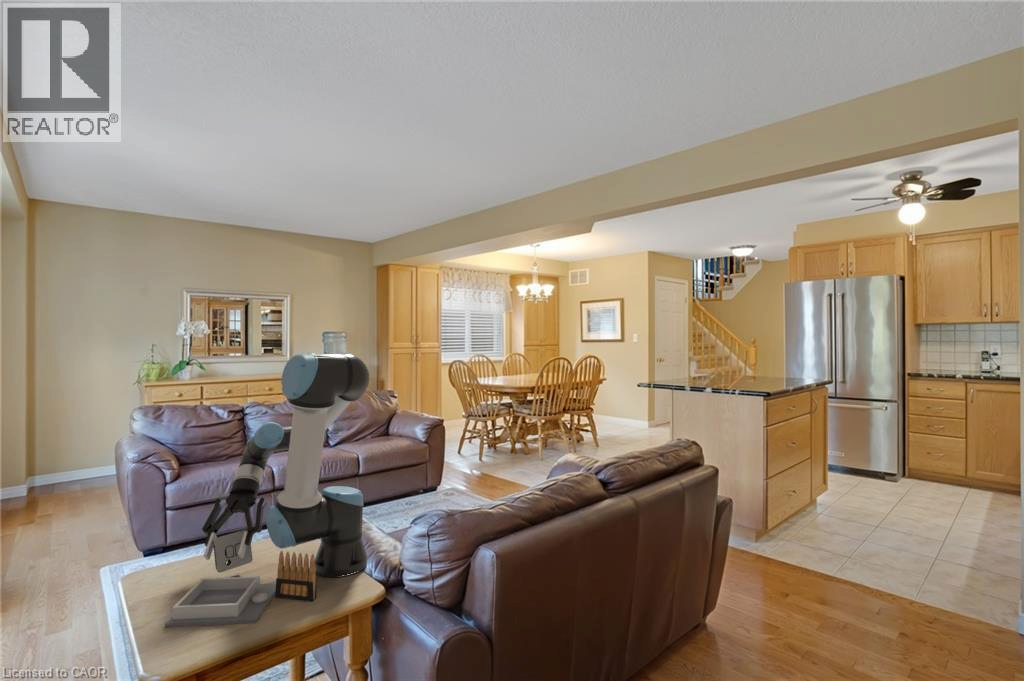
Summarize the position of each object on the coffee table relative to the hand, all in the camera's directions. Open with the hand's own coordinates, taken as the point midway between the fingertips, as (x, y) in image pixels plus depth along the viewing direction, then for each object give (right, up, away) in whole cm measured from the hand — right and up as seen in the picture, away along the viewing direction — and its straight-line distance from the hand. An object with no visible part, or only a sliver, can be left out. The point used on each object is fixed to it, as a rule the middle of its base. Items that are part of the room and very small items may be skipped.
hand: (223, 556), depth 139 cm
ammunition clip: (+23, -8, -8) cm, 26 cm away
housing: (+8, -7, -12) cm, 16 cm away
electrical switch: (0, -4, +3) cm, 5 cm away
